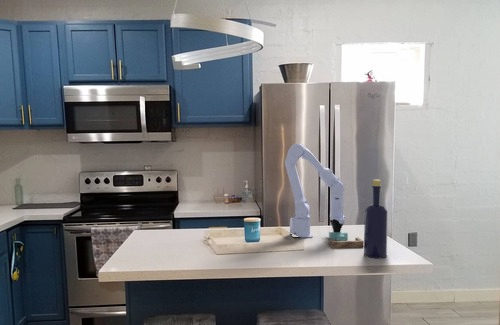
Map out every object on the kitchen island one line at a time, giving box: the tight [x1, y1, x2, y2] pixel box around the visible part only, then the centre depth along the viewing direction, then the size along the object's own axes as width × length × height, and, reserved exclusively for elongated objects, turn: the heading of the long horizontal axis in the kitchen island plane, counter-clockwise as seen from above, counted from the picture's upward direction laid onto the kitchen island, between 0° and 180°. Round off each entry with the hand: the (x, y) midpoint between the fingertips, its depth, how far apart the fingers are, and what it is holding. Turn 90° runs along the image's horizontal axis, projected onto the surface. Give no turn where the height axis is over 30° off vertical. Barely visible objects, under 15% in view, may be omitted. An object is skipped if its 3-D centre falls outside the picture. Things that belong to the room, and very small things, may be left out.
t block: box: [328, 231, 349, 241], centre depth 168 cm, size 8×8×3 cm
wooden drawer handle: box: [328, 237, 364, 249], centre depth 160 cm, size 13×6×2 cm, turn 95°
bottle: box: [363, 179, 389, 259], centre depth 146 cm, size 9×9×30 cm
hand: (336, 235), depth 173 cm, fingers closed
